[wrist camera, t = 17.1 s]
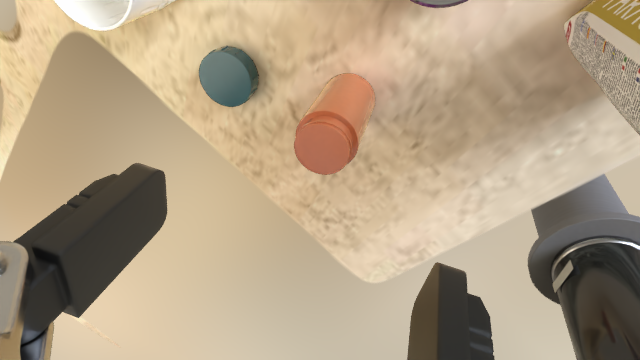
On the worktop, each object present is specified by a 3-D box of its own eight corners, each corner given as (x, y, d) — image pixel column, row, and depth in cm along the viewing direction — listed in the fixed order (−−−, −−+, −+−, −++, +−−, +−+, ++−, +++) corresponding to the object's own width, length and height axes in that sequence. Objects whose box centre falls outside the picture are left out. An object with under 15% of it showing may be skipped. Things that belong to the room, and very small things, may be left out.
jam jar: (386, 100, 38) (368, 153, 29) (349, 132, 41) (324, 190, 32) (347, 61, 37) (317, 105, 28) (313, 97, 40) (276, 147, 31)
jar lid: (208, 39, 39) (199, 44, 38) (261, 54, 38) (253, 60, 37) (207, 91, 42) (198, 98, 41) (256, 106, 42) (248, 113, 40)
